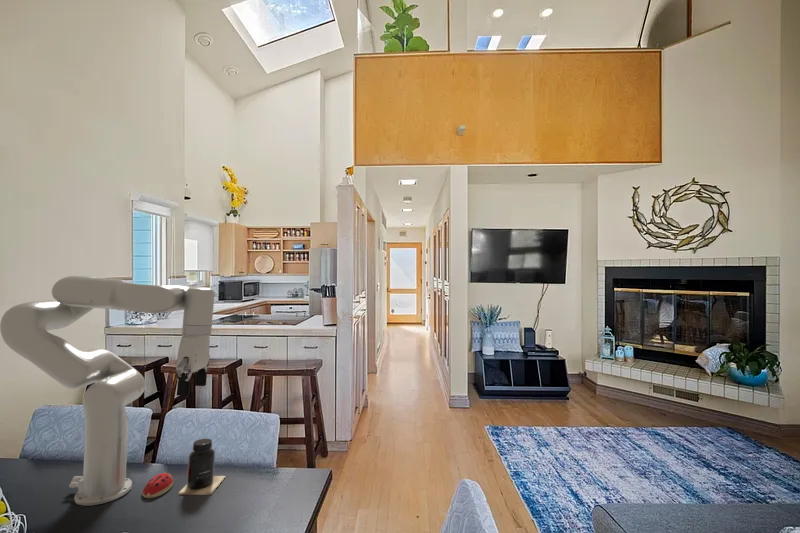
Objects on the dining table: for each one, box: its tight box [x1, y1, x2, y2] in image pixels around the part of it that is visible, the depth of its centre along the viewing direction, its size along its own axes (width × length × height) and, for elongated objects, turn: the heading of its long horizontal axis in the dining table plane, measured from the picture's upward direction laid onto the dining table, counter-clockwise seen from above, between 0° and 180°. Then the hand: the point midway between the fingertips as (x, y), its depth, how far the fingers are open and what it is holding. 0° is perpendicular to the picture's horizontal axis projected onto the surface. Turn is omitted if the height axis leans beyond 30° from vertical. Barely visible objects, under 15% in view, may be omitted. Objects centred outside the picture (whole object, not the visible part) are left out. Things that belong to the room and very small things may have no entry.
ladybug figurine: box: [142, 472, 174, 499], centre depth 108 cm, size 7×10×4 cm
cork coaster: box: [178, 475, 226, 496], centre depth 111 cm, size 9×9×1 cm
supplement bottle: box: [186, 438, 216, 489], centre depth 111 cm, size 7×7×12 cm
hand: (191, 390), depth 110 cm, fingers open, 9 cm apart
